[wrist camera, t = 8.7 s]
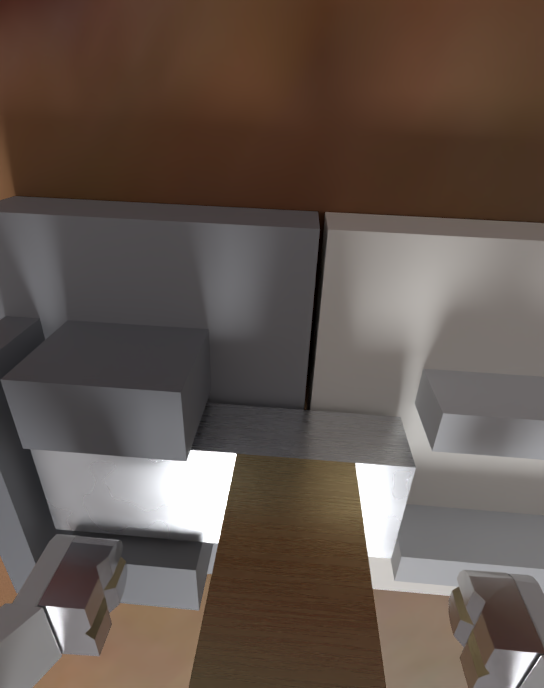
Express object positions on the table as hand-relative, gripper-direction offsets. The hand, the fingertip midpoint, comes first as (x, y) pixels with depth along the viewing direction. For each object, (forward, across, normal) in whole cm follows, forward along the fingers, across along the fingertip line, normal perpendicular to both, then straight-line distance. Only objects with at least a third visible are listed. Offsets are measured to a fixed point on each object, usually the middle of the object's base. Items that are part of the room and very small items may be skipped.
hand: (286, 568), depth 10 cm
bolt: (+4, +2, 0) cm, 4 cm away
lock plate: (+6, -2, 0) cm, 7 cm away
